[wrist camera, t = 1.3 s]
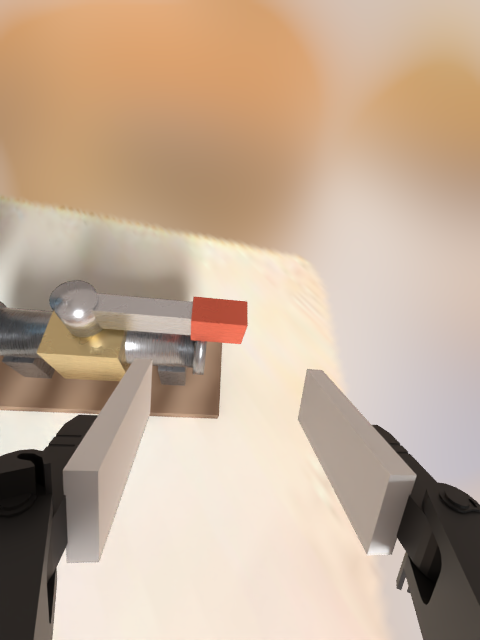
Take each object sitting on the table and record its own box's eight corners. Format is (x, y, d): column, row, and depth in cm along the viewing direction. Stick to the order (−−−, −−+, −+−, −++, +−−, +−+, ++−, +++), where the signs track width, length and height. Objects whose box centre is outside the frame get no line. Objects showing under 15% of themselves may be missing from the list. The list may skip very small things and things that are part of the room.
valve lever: (61, 336, 27) (42, 313, 23) (73, 303, 28) (57, 278, 25) (240, 348, 29) (247, 330, 25) (240, 318, 31) (247, 296, 27)
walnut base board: (-21, 409, 34) (-31, 404, 32) (20, 321, 40) (12, 313, 38) (217, 418, 37) (218, 415, 36) (221, 336, 44) (222, 330, 42)
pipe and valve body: (2, 384, 34) (-66, 346, 25) (25, 331, 37) (-27, 281, 28) (201, 394, 37) (205, 363, 28) (204, 344, 40) (209, 303, 31)
